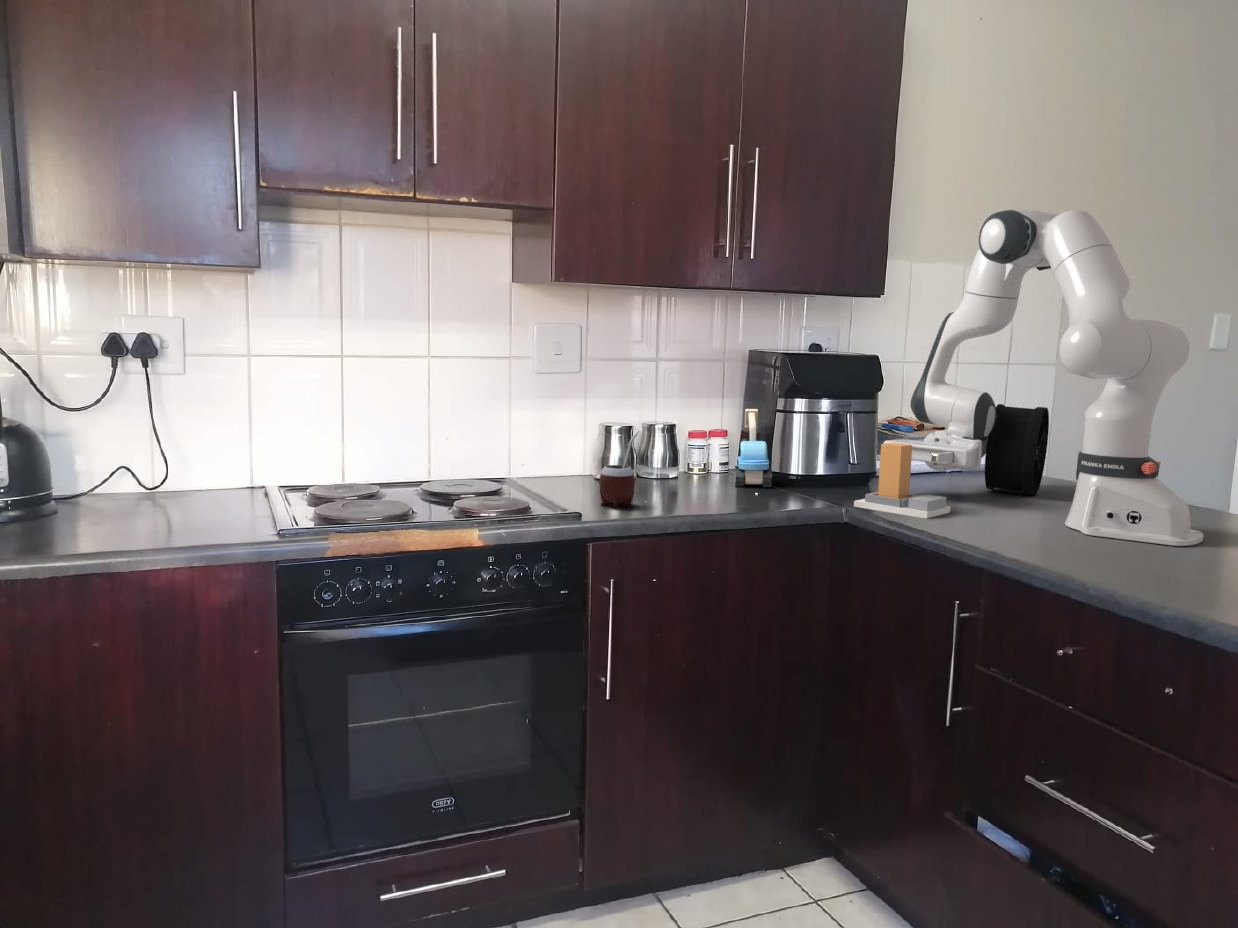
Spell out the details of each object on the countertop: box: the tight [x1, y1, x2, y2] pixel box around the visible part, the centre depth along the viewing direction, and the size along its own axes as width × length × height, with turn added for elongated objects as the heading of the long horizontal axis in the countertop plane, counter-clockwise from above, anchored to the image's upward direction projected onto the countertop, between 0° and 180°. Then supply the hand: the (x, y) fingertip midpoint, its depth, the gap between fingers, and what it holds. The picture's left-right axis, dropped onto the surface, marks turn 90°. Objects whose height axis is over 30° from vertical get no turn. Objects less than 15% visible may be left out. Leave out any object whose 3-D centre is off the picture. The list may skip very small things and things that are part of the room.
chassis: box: [853, 491, 951, 519], centre depth 189 cm, size 16×10×3 cm, turn 45°
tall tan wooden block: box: [877, 443, 912, 499], centre depth 190 cm, size 4×4×12 cm
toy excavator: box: [733, 408, 773, 488], centre depth 218 cm, size 9×17×17 cm, turn 174°
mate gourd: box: [598, 429, 641, 510], centre depth 185 cm, size 8×8×15 cm
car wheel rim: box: [984, 403, 1050, 496], centre depth 213 cm, size 20×10×20 cm, turn 148°
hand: (913, 455), depth 195 cm, fingers open, 8 cm apart
